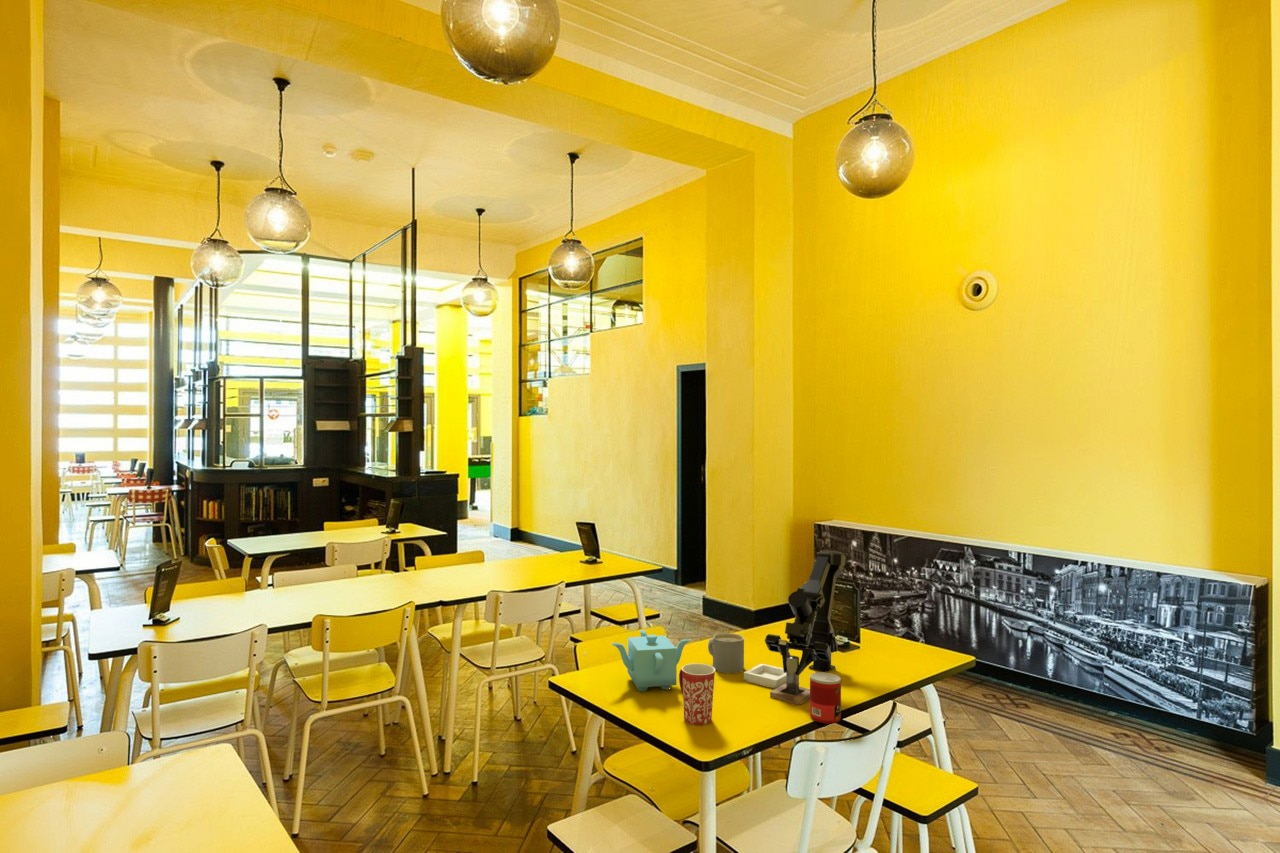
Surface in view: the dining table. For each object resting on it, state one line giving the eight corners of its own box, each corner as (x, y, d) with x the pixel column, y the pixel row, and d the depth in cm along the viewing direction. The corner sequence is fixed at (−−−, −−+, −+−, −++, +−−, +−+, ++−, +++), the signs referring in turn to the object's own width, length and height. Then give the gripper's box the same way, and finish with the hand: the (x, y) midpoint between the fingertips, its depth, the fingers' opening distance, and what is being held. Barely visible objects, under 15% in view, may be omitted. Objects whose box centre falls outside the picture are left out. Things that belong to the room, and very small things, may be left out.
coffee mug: (750, 670, 224) (750, 639, 225) (725, 675, 219) (725, 643, 220) (725, 658, 236) (725, 629, 236) (700, 663, 231) (701, 632, 231)
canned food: (842, 725, 181) (842, 682, 182) (810, 722, 183) (810, 680, 183) (839, 714, 189) (839, 673, 189) (809, 711, 191) (809, 671, 191)
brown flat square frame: (785, 688, 208) (785, 683, 208) (814, 695, 202) (814, 690, 203) (770, 697, 201) (770, 691, 201) (800, 705, 195) (800, 699, 195)
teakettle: (662, 700, 198) (662, 648, 198) (607, 687, 208) (608, 637, 208) (693, 681, 214) (693, 633, 214) (641, 669, 224) (641, 623, 224)
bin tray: (761, 671, 223) (761, 663, 223) (793, 679, 216) (793, 670, 216) (743, 680, 215) (743, 672, 215) (776, 688, 208) (776, 680, 208)
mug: (722, 723, 182) (722, 671, 183) (692, 729, 178) (693, 676, 178) (696, 706, 193) (696, 657, 194) (667, 712, 189) (668, 662, 190)
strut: (789, 692, 204) (789, 654, 205) (801, 695, 202) (801, 657, 202) (784, 696, 202) (784, 657, 202) (795, 699, 199) (795, 660, 199)
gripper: (767, 606, 210) (753, 653, 201) (828, 615, 201) (817, 664, 191) (775, 627, 217) (762, 673, 207) (836, 636, 207) (825, 684, 198)
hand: (791, 673), depth 201 cm, fingers closed on strut, 4 cm apart
